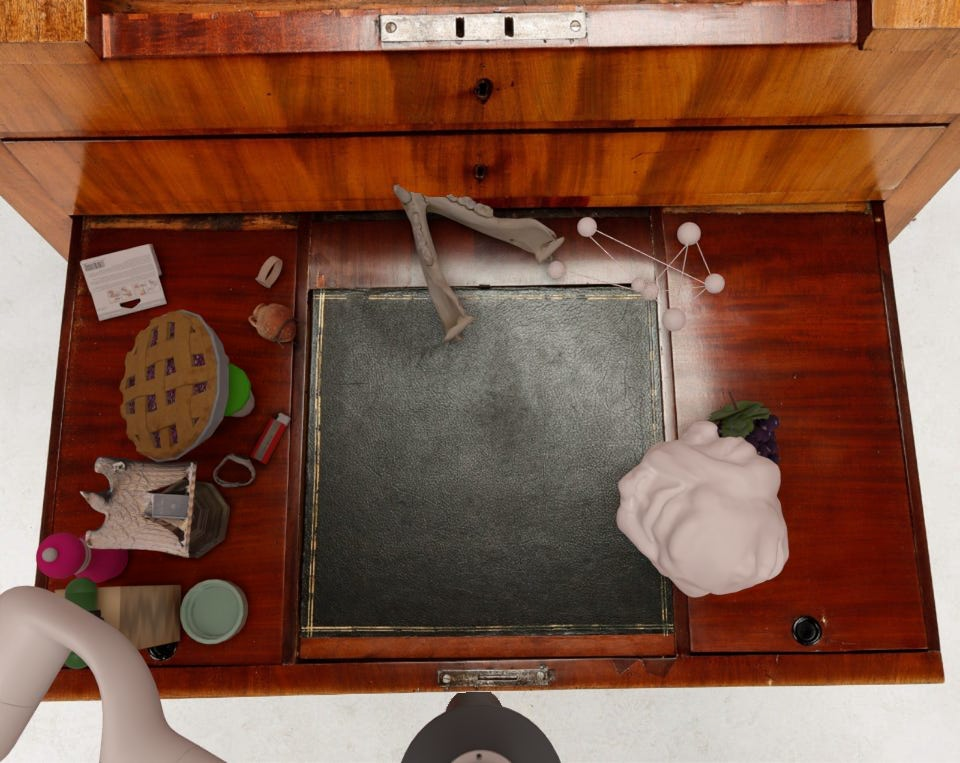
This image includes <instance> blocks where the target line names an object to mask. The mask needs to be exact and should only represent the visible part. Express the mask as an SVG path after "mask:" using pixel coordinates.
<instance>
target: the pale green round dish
mask: <svg viewBox="0 0 960 763" xmlns="http://www.w3.org/2000/svg"><path fill="white" fill-rule="evenodd" d="M246 596H247V595H246V594H245V592H244V591H243V589H242V588H241V587H240V586H239V585H237V584H235V583H234V582H233V581H230V580H226V579H223V578H220V579H219V578H216V579H206V580H203V581H201V582H198V583H196V584H195V585H194V586H193V587H191V588H190V589H189V590H188V592H186V594H185V596H184V597H183V599H182V601H181V608H180V623H181V625H182V629H183V630H184V631H185V633H186V634H187V635H188V637H190V638H191V639H193V640H194V641H195V642H197V643H201V644H205V645H215V644H220V643H223V642H226V641H229V640H231V639H233V638H234V637H235V636H236V635H237V634H239V633H240V632H241V630H242V629H243V628H244V626H245V625H246V622H247V618H248V615H249V603H248V599H247V597H246Z"/></svg>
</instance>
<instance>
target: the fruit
mask: <svg viewBox="0 0 960 763" xmlns="http://www.w3.org/2000/svg"><path fill="white" fill-rule="evenodd" d="M727 394H728V396H729V398H730V400H731V402H729V403H728V404H726V405H724V406H723V407H721V408H720V409H718V410H714V411H713V412H711V413H709V414H708V415H706V416H708V419H707V420H706V421H710V422H712V423H714V424H715V425H716V426H717V427H718V429H717V433H718V436H719V438H725V437H735V438H737V437H742V438H744V440H746V441H747V442H748V443H750V444H751V445H753V446H754V447H755V449H756V451H757V455H759V456H762V457H765V458H768V459H770V460H771V461H772V462H774V463H775V464H776V465H777V466H778V465H779V464H780V463H781V458H780V455H778V451H779V445H778V442H777V441H775V440H776V438H777V434H776V431H775V430H777V429H778V428H779V427H780V425H781V419H780V418H779V417H778V416H777V415H776V414H772V412H771V411H770V410H771V408H769V407H768V408H767V407H765V403H764V402H759V401H758V400H757V401H752V400H746V399H743V400H741V401H739V400H738V401H735V399H734V397H733V394H732V393H731V391H727Z"/></svg>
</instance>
